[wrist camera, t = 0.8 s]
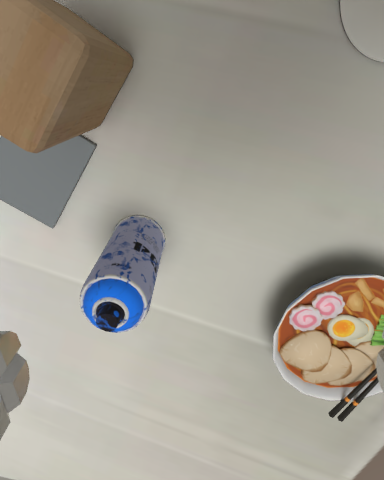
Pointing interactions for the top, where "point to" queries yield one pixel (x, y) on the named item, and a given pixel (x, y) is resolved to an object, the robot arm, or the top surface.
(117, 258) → the aerosol can
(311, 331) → the ramen bowl
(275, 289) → the top surface
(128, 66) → the wooden block
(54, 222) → the mat
